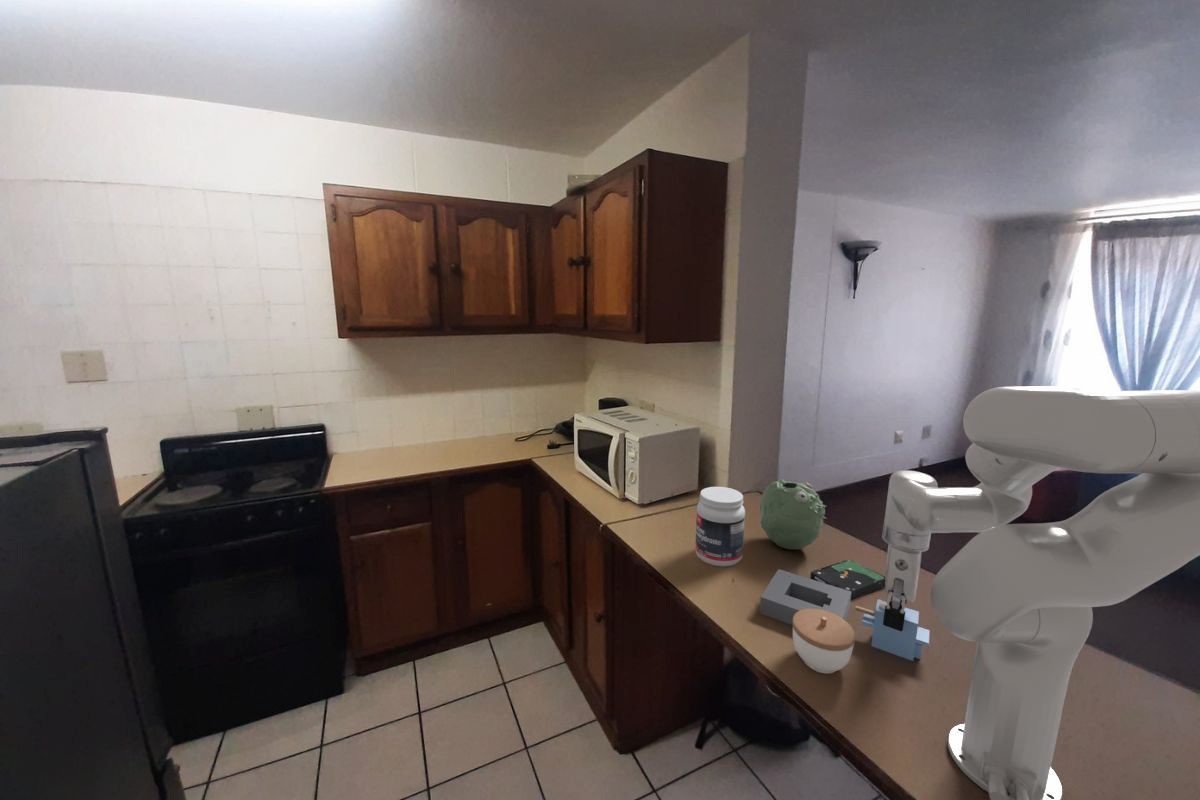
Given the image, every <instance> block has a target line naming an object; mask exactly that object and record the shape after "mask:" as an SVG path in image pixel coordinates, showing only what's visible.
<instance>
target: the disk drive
mask: <svg viewBox="0 0 1200 800" xmlns="http://www.w3.org/2000/svg"><path fill="white" fill-rule="evenodd" d="M809 579H812V580H815V581H819V582H822V583H825V584H828V585H832V586H835V587H838V588H841V589H845V590H848V591H851V600H854V599H855V598H858V597H860V596H864V595H865V594H869V593H871V592H875V591H876V590H880V589H882V588H885V575H882V574H881V573H879V572H877V571H875V570H873V569H871V568H869V567H866V566H864V565H862V564H860V563H858V562H856V561H855V560H854V559H847V560H841V561H840V562H837V563H834V564H830V565H827V566H823V567H821V568H817V569H815V570H812V571H810V578H809Z"/></svg>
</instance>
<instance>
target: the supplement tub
mask: <svg viewBox="0 0 1200 800" xmlns="http://www.w3.org/2000/svg"><path fill="white" fill-rule="evenodd" d="M697 503H698V504H697V506H696V518H695V519H696V521H695V525H696V526H695V542H694V543H695V548H694V551H695V553H696V556H697V557H698V558H699V559H700V560H701V561H702V562H704V563H707V564H709V565H712V566H717V567H731V566H734V565H736V564H738V563H740V561H741V560H742V559H743V556H744V555H743V552H744V537H745V536H744V534H745V518H746V509H745V507H744V506H743V505H744V495H743V493H742V492H740V491H738V489H737V490H736V489H733V488H730V487H725V486H710V487H709V486H708V487H705V488H703V489H701V491H700V493H699V502H697Z"/></svg>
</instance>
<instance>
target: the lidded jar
mask: <svg viewBox="0 0 1200 800" xmlns="http://www.w3.org/2000/svg"><path fill="white" fill-rule="evenodd" d="M792 624H793V625H792V642H793V644H794V645H793V646H794V648H795V650H796V653H797V654H798V655H799V656H798V657H800V658H801V659H802V661H803V662H804V664H805V665H806V666H808V667H809V668H810V669H811V670H813V671H815V672H817V673H820V674H826V675H827V674H834V673H835V672H836V671H840V670H842V669H843V668H844V667H846V666H847V664H848V663H849V662H850V659H851V656H852V654H853V651H854V650H853V649H854V646H855V645H854V644H855V641H856V633H855V630H854V628H853V627H852V626H851V624H850V623H849V622H848V621H847V620H846V621H845V620H844V619H842V618H841V617H839V616H837V615H835V614H833V613H831V612H828V611H824V610H820V609H803V610H800V611H798V612H797V613H795V614H794V616H793V620H792Z"/></svg>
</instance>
